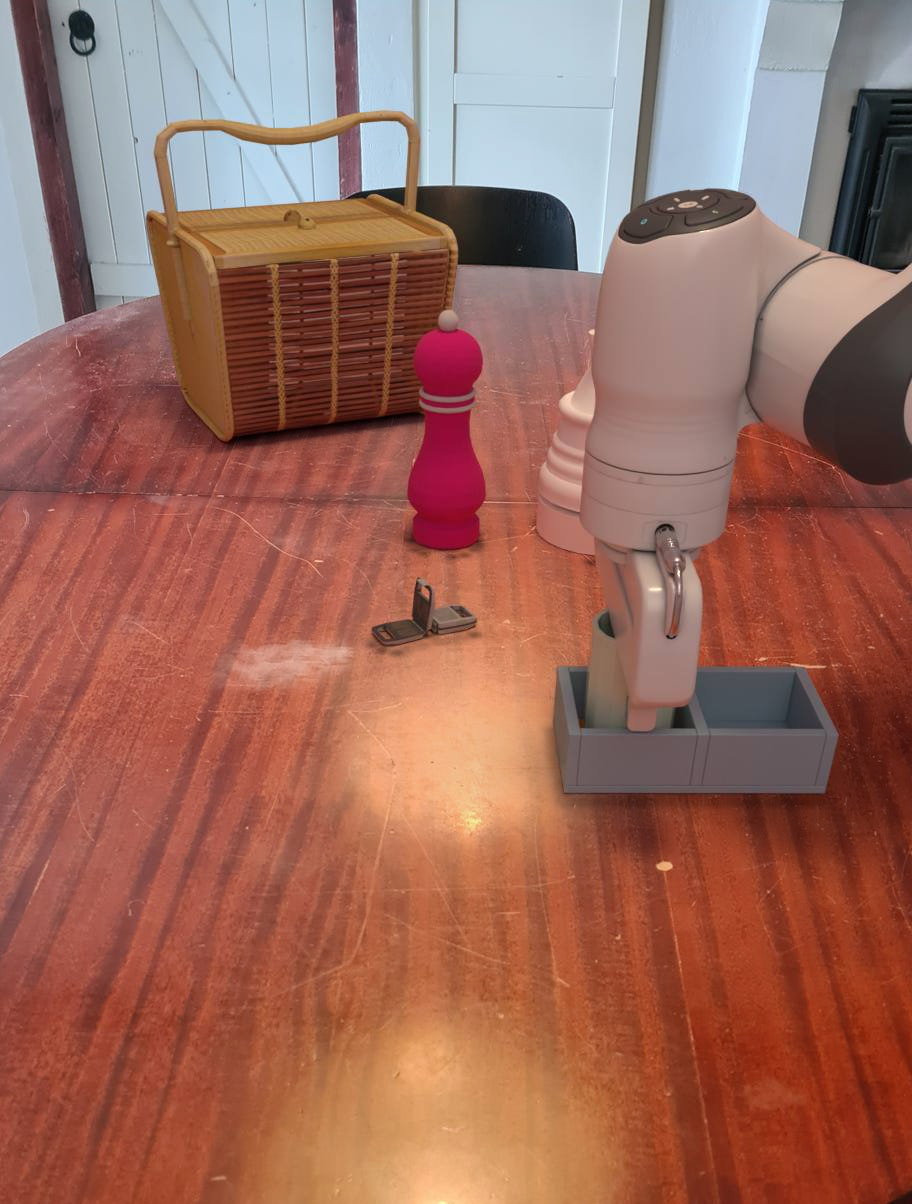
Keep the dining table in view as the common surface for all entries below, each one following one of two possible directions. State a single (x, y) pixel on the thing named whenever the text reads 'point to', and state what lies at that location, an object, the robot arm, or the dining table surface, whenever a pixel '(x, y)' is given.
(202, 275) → the picnic basket
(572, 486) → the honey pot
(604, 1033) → the dining table surface
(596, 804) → the dining table surface
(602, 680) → the cup
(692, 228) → the robot arm
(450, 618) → the strap clip
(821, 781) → the holder
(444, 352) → the pepper mill
